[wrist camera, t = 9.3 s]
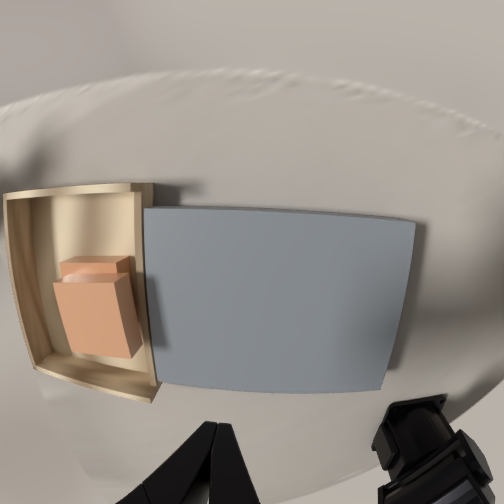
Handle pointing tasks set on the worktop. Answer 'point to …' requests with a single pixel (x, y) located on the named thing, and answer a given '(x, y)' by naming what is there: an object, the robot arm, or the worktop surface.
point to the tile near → (99, 314)
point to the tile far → (98, 267)
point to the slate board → (274, 297)
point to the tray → (48, 271)
